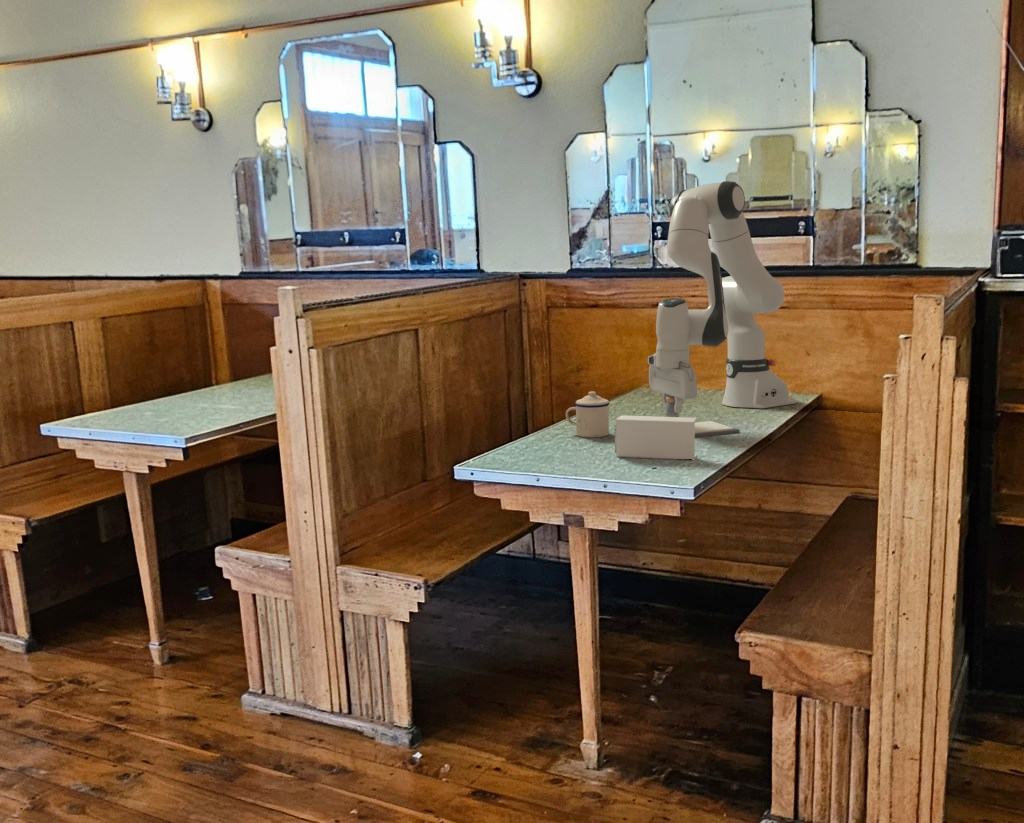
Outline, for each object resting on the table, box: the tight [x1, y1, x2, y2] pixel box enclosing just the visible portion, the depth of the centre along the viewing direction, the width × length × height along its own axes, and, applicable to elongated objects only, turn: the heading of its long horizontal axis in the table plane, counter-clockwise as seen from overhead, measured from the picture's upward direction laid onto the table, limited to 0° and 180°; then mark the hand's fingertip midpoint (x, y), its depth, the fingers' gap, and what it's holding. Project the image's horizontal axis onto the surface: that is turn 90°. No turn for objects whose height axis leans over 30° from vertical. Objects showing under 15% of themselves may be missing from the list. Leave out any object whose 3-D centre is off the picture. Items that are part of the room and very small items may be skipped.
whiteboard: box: [695, 420, 741, 438], centre depth 281 cm, size 25×14×1 cm, turn 110°
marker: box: [665, 396, 680, 417], centre depth 282 cm, size 4×4×8 cm
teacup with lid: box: [565, 391, 610, 439], centre depth 281 cm, size 12×9×12 cm
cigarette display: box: [614, 414, 698, 461], centre depth 252 cm, size 20×6×9 cm, turn 70°
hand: (672, 411), depth 282 cm, fingers closed on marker, 3 cm apart
